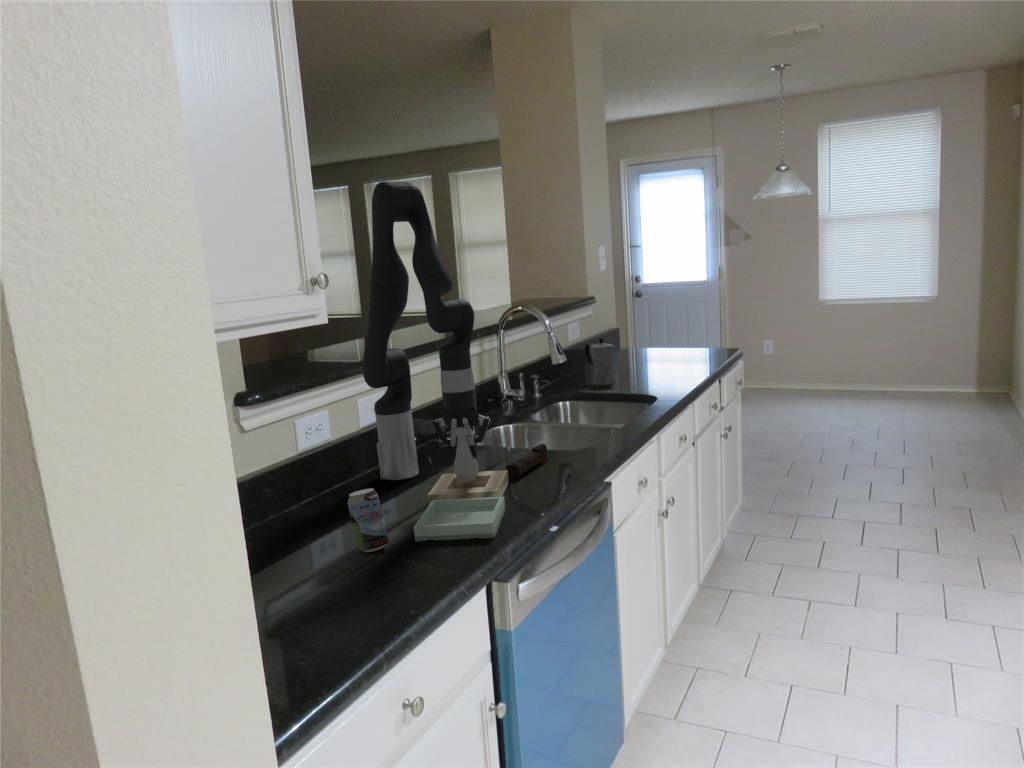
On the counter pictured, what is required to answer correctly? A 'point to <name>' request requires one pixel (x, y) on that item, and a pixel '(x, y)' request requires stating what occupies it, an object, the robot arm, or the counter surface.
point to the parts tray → (460, 519)
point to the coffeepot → (601, 362)
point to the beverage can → (367, 520)
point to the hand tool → (527, 462)
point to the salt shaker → (464, 458)
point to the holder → (470, 486)
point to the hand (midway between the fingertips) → (465, 460)
